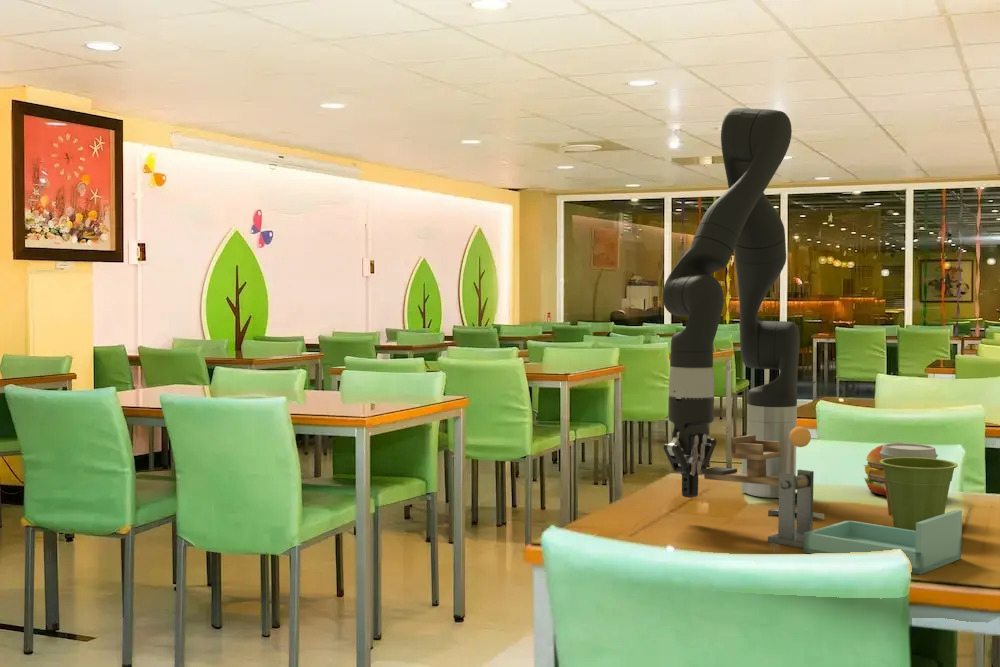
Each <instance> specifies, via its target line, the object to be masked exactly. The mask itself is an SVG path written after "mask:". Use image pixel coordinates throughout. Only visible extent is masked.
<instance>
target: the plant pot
mask: <svg viewBox="0 0 1000 667" xmlns="http://www.w3.org/2000/svg"><path fill="white" fill-rule="evenodd" d="M880 464H882V465H883V469H884V474H885V478H886V479H887V485H888V492H889V498H890V504H891V511H892V515H891V516H892V522H893V527H895V528H901V529H907V530H914V531H916V523H917V522H920V521H923V520H927V519H930V518H933V517H936V516H939V515H942V514H945V513H946V507H947V501H948V496H949V490H950V485H951V482H952V481H953V476H954V472H955V471H954V470H955V469H956V468H957V467H958V465H959V464H958V463H957V462H955V461H951V460H948V459H947V460H946V459H940V458H936V459H932V458H920V457H894V458H885V459H882V460H880Z"/></svg>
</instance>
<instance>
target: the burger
mask: <svg viewBox="0 0 1000 667" xmlns="http://www.w3.org/2000/svg"><path fill="white" fill-rule="evenodd" d="M888 444H890V442H889V443H888ZM883 445H884V444H882V445H879V446H877V447H875V448H873V449H871V450H870V452H869V453H868V454H867V456H866V460H865V461H866V462H867V464H863V466H864V472H865V474H866V477H863V479H864V481H865V483H866V485H867V488H868V489H869V491H870V492H872V493H874V494H878V495H881V496H882V495H883V496H886V497H887V495H886V486H885V478H884V469H883V465H882V464H880V460H882V457H881V454H880V451H881V450H882V446H883Z"/></svg>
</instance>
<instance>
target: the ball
mask: <svg viewBox="0 0 1000 667" xmlns="http://www.w3.org/2000/svg"><path fill="white" fill-rule="evenodd" d="M789 437H790V441H791V443H792V444H793V445H795V446H796V448H797V447H798V448H804V447H806V446H808V445H809V444H810V442H811V439H812V435H811V432H810V431H809V429H807V427H804V426H797V427H795V428H794V429H792V431H791V432H790V436H789Z"/></svg>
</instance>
